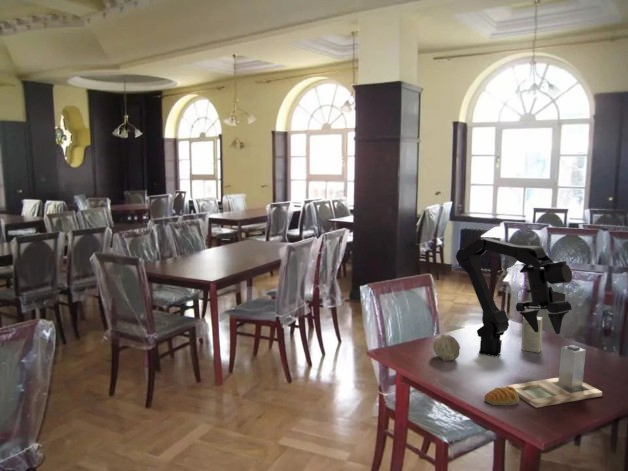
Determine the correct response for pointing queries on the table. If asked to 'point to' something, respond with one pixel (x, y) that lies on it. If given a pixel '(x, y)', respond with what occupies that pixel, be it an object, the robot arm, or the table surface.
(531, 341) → the skincare box
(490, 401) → the pastry
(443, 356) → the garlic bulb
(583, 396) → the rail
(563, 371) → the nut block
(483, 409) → the table surface
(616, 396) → the table surface
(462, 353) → the table surface
